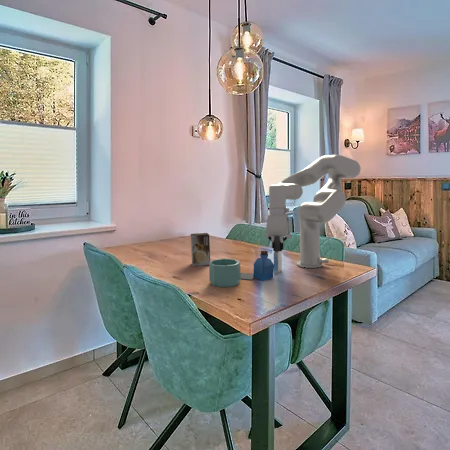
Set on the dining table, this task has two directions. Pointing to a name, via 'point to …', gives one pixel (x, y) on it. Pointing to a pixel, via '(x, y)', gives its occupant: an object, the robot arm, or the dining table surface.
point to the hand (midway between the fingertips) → (277, 250)
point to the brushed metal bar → (277, 256)
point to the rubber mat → (246, 276)
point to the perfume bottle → (263, 267)
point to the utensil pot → (224, 272)
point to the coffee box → (200, 249)
